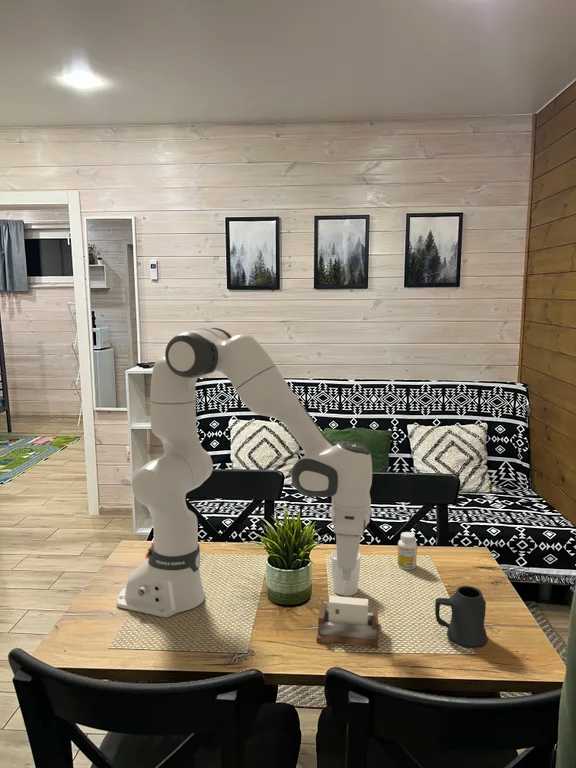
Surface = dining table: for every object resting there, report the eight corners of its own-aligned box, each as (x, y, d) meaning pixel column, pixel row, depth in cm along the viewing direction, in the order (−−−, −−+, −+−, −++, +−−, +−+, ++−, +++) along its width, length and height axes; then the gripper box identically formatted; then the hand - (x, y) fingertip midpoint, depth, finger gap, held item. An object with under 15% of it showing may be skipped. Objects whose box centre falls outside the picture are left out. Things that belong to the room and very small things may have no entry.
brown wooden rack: (316, 641, 132) (316, 621, 132) (320, 618, 142) (321, 599, 141) (378, 647, 130) (378, 627, 130) (378, 623, 140) (379, 604, 139)
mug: (484, 627, 138) (486, 583, 137) (490, 650, 130) (493, 603, 128) (432, 622, 141) (434, 579, 139) (435, 644, 132) (437, 598, 130)
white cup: (358, 598, 151) (359, 562, 150) (328, 595, 153) (329, 559, 152) (360, 584, 159) (361, 549, 158) (332, 581, 161) (333, 547, 159)
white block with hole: (367, 626, 137) (368, 599, 136) (367, 635, 133) (367, 607, 132) (329, 622, 138) (330, 595, 137) (328, 631, 135) (328, 603, 134)
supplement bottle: (404, 559, 174) (405, 529, 172) (419, 566, 170) (421, 534, 168) (393, 565, 170) (394, 534, 169) (408, 571, 166) (410, 540, 165)
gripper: (340, 495, 142) (337, 548, 145) (333, 529, 122) (330, 589, 125) (365, 498, 141) (363, 551, 144) (363, 531, 121) (359, 592, 124)
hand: (347, 569), depth 134 cm, fingers open, 8 cm apart
